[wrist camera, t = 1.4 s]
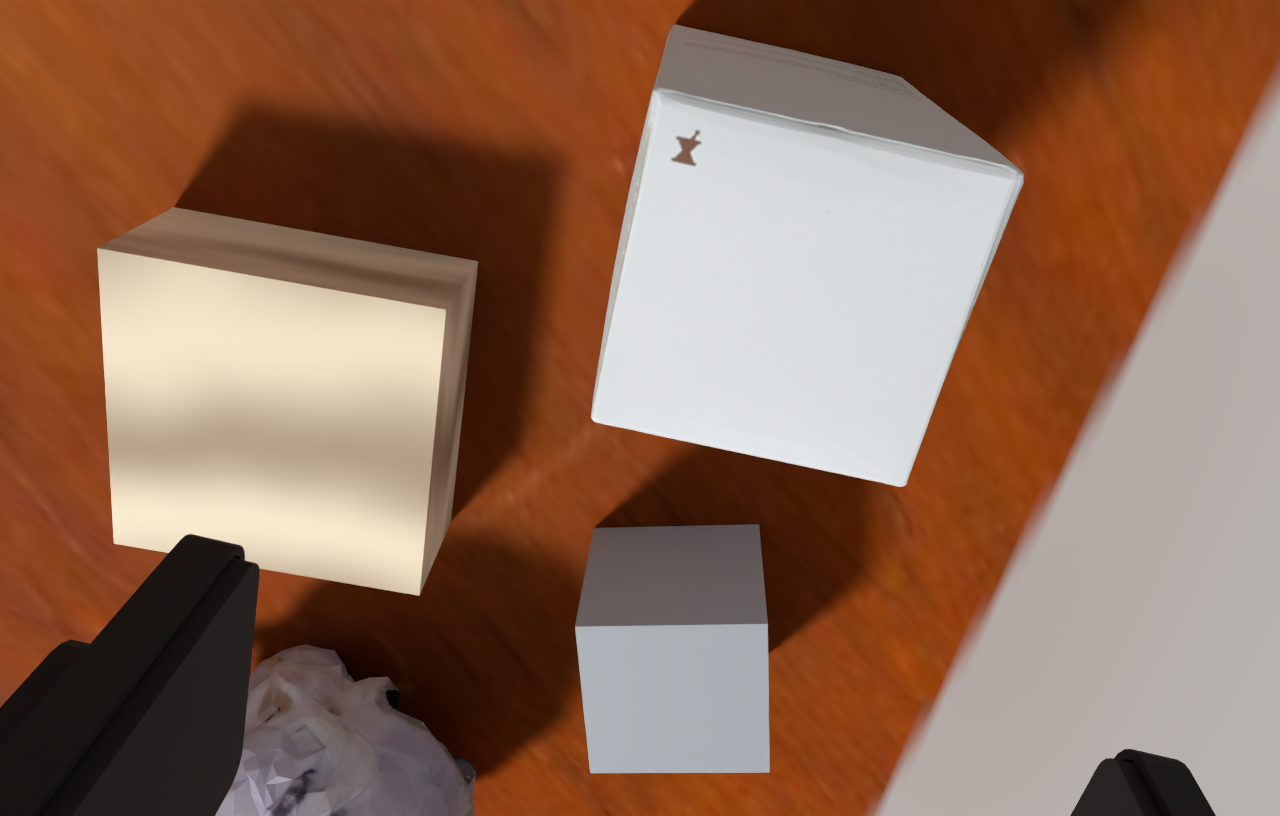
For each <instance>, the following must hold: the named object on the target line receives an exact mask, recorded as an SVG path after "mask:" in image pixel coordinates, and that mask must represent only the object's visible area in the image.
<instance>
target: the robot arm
mask: <svg viewBox="0 0 1280 816" xmlns="http://www.w3.org/2000/svg"><path fill="white" fill-rule="evenodd" d="M258 584H259V565H258V564H257V563H253V562H249V561H245V552H244V548H243V547H242V546H241V545H237V544H233V543H228V542H224V541H220V540H215V539H211V538H206V537H202V536H198V535H193V534H188V535H185V536H184V537H183V538H182V539H181V540H180V541H179V542H178V543H177V544H176V545H175V547H174V548H173V549H172V550H171V551H170V552H169V554H168V555H167V556H166V557H165V558H164V559H163V561H162V562H161V563H160V564H159V565H158V566H157V567H156V569H155V570H154V571H153V572H152V573H151V574H150V576H149V577H148V578H147V579H146V580H145V581H144V583H143V584H142V585H141V586H140V587H139V588H138V589H137V591H136V592H135V593H134V594H133V595H132V596H131V598H130V599H129V600H128V601H127V602H126V603H125V604H124V606H123V607H122V608H121V609H120V610H119V611H118V613H117V614H116V615H115V616H114V617H113V618H112V620H111V621H110V622H109V623H108V624H107V625H106V626H105V628H104V629H103V630H102V631H101V632H100V633H99V635H98V636H97V637H96V638H95V639H94V640H93V642H92V643H91V644H88V643H84V642H79V641H75V640H69V641H66V642H64V643H61V644H60V645H59V646H58V647H56V648H55V649H54V650H53V651H52V652H51V653H50V654H49V655H48V656H47V657H46V658H45V659H44V660H43V661H42V662H41V664H40V665H39V666H38V667H37V668H36V669H35V670H34V671H33V672H32V673H31V675H30V676H29V677H28V678H27V679H26V680H25V681H24V682H23V683H22V684H21V686H20V687H19V688H18V689H17V690H16V691H15V692H14V693H13V694H12V695H11V697H10V698H9V699H8V700H7V701H6V702H5V703H4V704H3V705H2V706H1V708H0V816H215V815H216V813H217V811H218V809H219V808H220V806H221V804H222V802H223V800H224V799H225V797H226V795H227V793H228V792H229V790H230V788H231V786H232V784H233V782H234V779H235V777H236V774H237V771H238V768H239V765H240V761H241V757H242V751H243V741H244V730H245V720H246V710H247V699H248V689H249V678H250V668H251V657H252V647H253V636H254V626H255V615H256V605H257V595H258ZM1071 816H1216V815H1215V814H1214V812H1213V810H1212V809H1211V807H1210V805H1209V803H1208V801H1207V800H1206V798H1205V796H1204V794H1203V793H1202V791H1201V789H1200V787H1199V786H1198V784H1197V782H1196V781H1195V779H1194V777H1193V775H1192V774H1191V772H1190V770H1189V769H1188V768H1187V767H1186V765H1185V764H1184V763H1182V762H1180V761H1179V760H1176V759H1171V758H1167V757H1163V756H1159V755H1154V754H1149V753H1145V752H1141V751H1136V750H1132V749H1125V750H1123V751H1121V752H1120V753H1118V754H1117V756H1116V757H1115V758H1114V759H1111V758H1110V759H1105V760H1103V761H1102V762H1101V763H1100V764H1099V766H1098V767H1097V769H1096V771H1095V772H1094V774H1093V776H1092V778H1091V780H1090V782H1089V784H1088V785H1087V787H1086V789H1085V791H1084V793H1083V794H1082V796H1081V798H1080V800H1079V801H1078V803H1077V805H1076V807H1075V809H1074V810H1073V812H1072V814H1071Z"/></svg>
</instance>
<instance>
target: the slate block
mask: <svg viewBox="0 0 1280 816" xmlns="http://www.w3.org/2000/svg"><path fill="white" fill-rule="evenodd" d="M575 632H576V642H577V651H578V661H579V670H580V680H581V689H582V699H583V708H584V718H585V727H586V737H587V747H588V756H589V766H590V773H755V772H770V763H769V679H768V620H767V609H766V597H765V586H764V574H763V563H762V551H761V540H760V528H759V524H749V525H705V526H661V527H618V528H593V533H592V539H591V544H590V549H589V554H588V560H587V565H586V570H585V576H584V581H583V586H582V592H581V597H580V602H579V608H578V613H577V618H576V624H575Z"/></svg>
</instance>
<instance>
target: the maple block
mask: <svg viewBox="0 0 1280 816" xmlns="http://www.w3.org/2000/svg"><path fill="white" fill-rule="evenodd" d="M97 251H98V269H99V287H100V305H101V322H102V340H103V358H104V376H105V394H106V411H107V429H108V447H109V465H110V482H111V500H112V518H113V536H114V544H120V545H126V546H131V547H137V548H143V549H149V550H155V551H161V552H166V553H169V552H170V551H171V550H172V549H173V548H174V547H175V545H176V544H177V543H178V542H179V541H180V540H181V539H182V538H183V537H184V536H185V535H188V534H193V535H198V536H202V537H206V538H211V539H215V540H220V541H224V542H228V543H233V544H237V545H241V546H242V547H243V548H244V552H245V561H249V562H253V563H257V564H258V565H259V568H260V569H266V570H272V571H278V572H283V573H289V574H295V575H301V576H307V577H313V578H319V579H324V580H330V581H336V582H342V583H348V584H354V585H359V586H365V587H371V588H377V589H383V590H389V591H395V592H400V593H406V594H412V595H418V596H420V593H421V591H422V589H423V586H424V584H425V582H426V579H427V577H428V575H429V572H430V570H431V567H432V565H433V563H434V560H435V558H436V556H437V553H438V551H439V549H440V546H441V544H442V542H443V539H444V537H445V534H446V532H447V530H448V527H449V525H450V523H451V518H452V508H453V499H454V489H455V480H456V470H457V461H458V451H459V442H460V432H461V423H462V413H463V404H464V394H465V385H466V375H467V365H468V356H469V346H470V337H471V327H472V318H473V308H474V299H475V289H476V280H477V270H478V261H474V260H468V259H463V258H457V257H451V256H446V255H440V254H435V253H429V252H423V251H418V250H412V249H406V248H401V247H395V246H390V245H384V244H378V243H373V242H367V241H362V240H356V239H350V238H345V237H339V236H333V235H328V234H322V233H317V232H311V231H305V230H300V229H294V228H288V227H283V226H277V225H272V224H266V223H260V222H255V221H249V220H243V219H238V218H232V217H227V216H221V215H215V214H210V213H204V212H198V211H193V210H187V209H182V208H176V207H173V208H171V209H169V210H168V211H166V212H164V213H162V214H160V215H158V216H156V217H155V218H153V219H151V220H149V221H147V222H145V223H143V224H141V225H140V226H138V227H136V228H134V229H132V230H130V231H128V232H127V233H125V234H123V235H121V236H119V237H117V238H115V239H114V240H112V241H110V242H108V243H106V244H104V245H102V246H100V247H99V248H97Z"/></svg>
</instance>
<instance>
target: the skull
mask: <svg viewBox="0 0 1280 816" xmlns="http://www.w3.org/2000/svg"><path fill="white" fill-rule="evenodd" d="M398 701H399V690H398V689H397V688H396V686H395V685H394V684H393V683H392V681H391V680H390V679H389V677H374V678H367V679H363V680H360V681H357V682H354V680H353V678H352V677H351V676H350V675H348V674H347V671H346V668H345V665H344V664H343V662H342V661H341V660H340V658H339V657H338V655H337V654H336V652H335V650H329V649H322V648H318V647H315V646H311V645H307V644H306V645H299V646H295V647H292V648H289V649H286V650H283V651H280V652H279V653H277V654H275V655H274V656H272V657H270V658H268V659H265V660H263V661H262V662H261V663H260V664H259V665H258V666H257V667H256V669H255V670H254V671H253V672H252V674H251V675H250V678H249V689H248V699H247V710H246V720H245V730H244V741H243V751H242V757H241V761H240V765H239V768H238V771H237V774H236V777H235V779H234V782H233V784H232V786H231V788H230V790H229V792H228V793H227V795H226V797H225V799H224V800H223V802H222V804H221V806H220V808H219V809H218V811H217V813H216V815H215V816H475V814H474V806H473V793H474V781H475V778H476V776H477V775H476V772H475V769H474V768H473V766H472V765H471V763H470V762H469V761H468V760H466V759H465V758H462V757H458V756H455V755H453V754H450V753H449V751H448V750H447V748H446V747H445V746H444V744H442V743H441V742H439V741H437V740H436V738H435V737H434V736H433V735H432V734H431V732H430V731H429V730H428V728H427V727H426V726H425V725H424V723H423V722H422V721H420V720H418V719H415V718H413V717H411V716H408V715H406V714H404V713H402V712H399V711H397V706H398Z"/></svg>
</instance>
